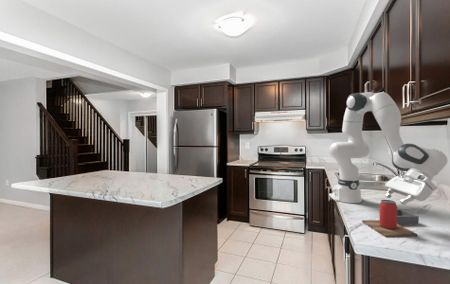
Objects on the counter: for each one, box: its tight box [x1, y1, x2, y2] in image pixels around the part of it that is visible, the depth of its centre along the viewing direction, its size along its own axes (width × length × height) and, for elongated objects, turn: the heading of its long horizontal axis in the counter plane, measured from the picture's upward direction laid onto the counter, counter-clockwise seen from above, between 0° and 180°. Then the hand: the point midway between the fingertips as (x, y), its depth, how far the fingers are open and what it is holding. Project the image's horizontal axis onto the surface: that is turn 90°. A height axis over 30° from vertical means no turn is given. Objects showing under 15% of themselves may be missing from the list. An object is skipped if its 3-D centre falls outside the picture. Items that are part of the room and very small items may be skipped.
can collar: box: [397, 208, 420, 226], centre depth 115 cm, size 11×11×4 cm
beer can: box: [378, 199, 398, 229], centre depth 105 cm, size 7×7×12 cm
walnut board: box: [361, 219, 418, 238], centre depth 105 cm, size 16×14×1 cm
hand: (394, 200), depth 105 cm, fingers open, 8 cm apart
